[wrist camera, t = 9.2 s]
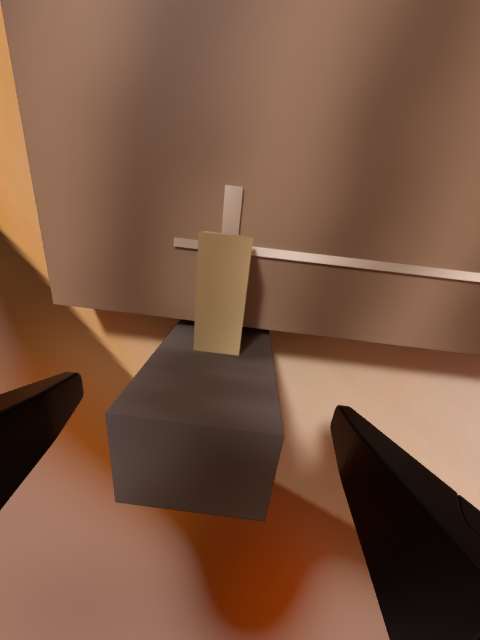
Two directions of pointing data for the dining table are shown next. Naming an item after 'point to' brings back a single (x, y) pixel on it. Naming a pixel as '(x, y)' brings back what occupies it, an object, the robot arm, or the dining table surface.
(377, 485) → the robot arm
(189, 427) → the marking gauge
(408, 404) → the dining table surface
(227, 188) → the gray rectangular board
